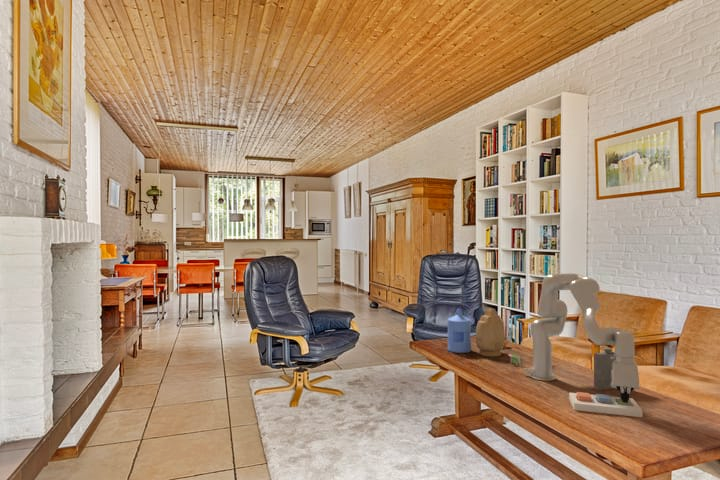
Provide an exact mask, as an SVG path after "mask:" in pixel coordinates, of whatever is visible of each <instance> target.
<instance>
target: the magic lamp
mask: <svg viewBox="0 0 720 480" xmlns="http://www.w3.org/2000/svg"><path fill="white" fill-rule="evenodd" d="M511 331H512V330H509V331H508V335H507V337H505V342H504V347H503V349H507V348H508V347H507V346H506V345H508V344H509V343H510V342H509V341H510V340H509V339H507V338H512V334H511ZM509 336H510V337H509Z"/></svg>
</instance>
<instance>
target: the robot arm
mask: <svg viewBox="0 0 720 480" xmlns="http://www.w3.org/2000/svg"><path fill="white" fill-rule="evenodd" d="M600 290H601V287H600V284H599V283H598V282H597V281H596V280H595V279H594V278H592V277H588V276H584V275H581V274H578V273H572V272H571V273H555V274H554V273H552V274H547V275H545V277H543V279H542V282H541V293H540V296H539V297H540V298H539V301H538V306H537V315H538V316H539V317H541V318H539V319H535V320H533V321H532V322H531V324H530V332H531V335H532V336H531V337H532V367H530V368H528V367H524V368H523V372H525V373H526V374H529V377H530V378H532V379H534V380H538V381H542V382H544V381H546V382H548V381H549V382H550V381H554V380H556V376H555V375H554V374H553V344H552V342H551V340H550V338H549V337H554V336H560V335H561V334H562V332H564V328H565V326H566V325H565V324H566V320H567V316H568V306H567V304H566V303H565V301H563V300H562V299H559V292H558V291H570V293H571V294H572V296H573V298H574V299H575V301H576V303H577V304H578V306H579V308H580V309H581V311H582V327H583V328H584V331H585V334H586V335H587V337H588V338H589V340H590V341H591V342H592V343H593V344H595V345H596V346H601V347H602V346H611V345H614V352H615V354H614V356H611V359H613V360H615V361H613V364H612V370H611V387H614V388H617V389H616V390H619V394H620V395H619V397H620V398H621V400H622V401H623V402H626V403H628V400H629V398H630V394H631V392H633V391H635V390H636V391H637V390H639V389H640V376H639V375H640V374H639V368H638V364H637V363H636V362H635V360H636V359H635V358H636V357H635V351H636V350H635V335H634V334H635V333H634V332H632V331H628V330H622V329H619V328H616V327H611V326H610V327H602V328H601V327H600V326H599V324H598V322H597V321H596V316H595V315H596V313H597V312H598V311H599V310H600V309H601V308H602V304H601V302H600V301H599V299H598V298H597V297H596V295H598V294H599V293H600ZM623 387H624V389H625V390H624V389H623Z"/></svg>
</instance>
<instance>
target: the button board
mask: <svg viewBox="0 0 720 480" xmlns="http://www.w3.org/2000/svg"><path fill="white" fill-rule="evenodd" d="M589 394H590V393H589ZM568 395H569V396H568V398H569V402H570V404H571V406H572V407H573V411H581V412H588V413H589V412H590V413H597V414H606V415H617V416H627V417H635V418H644V417H643V416H644V415H643V409H642V408H641V406H639V404H638V403H637V402H636V401H635V400H634V398H632V397H629V400H630V401H631V402H632V404H633V406H627V405H618V403H617V402H616V399H621V398H620V396H610V395H609V396H610V397H611V399H612V404H607V403H598V402H597V400H596V394H592V393H591V394H590V395H591V402H587V401H578V400H577V392H569V393H568Z"/></svg>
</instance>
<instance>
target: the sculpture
mask: <svg viewBox="0 0 720 480" xmlns="http://www.w3.org/2000/svg"><path fill="white" fill-rule="evenodd" d="M496 311H497V310H496V308H490V307H486V308H485V310H484V314H482V315H481V316H480V317H479V320H478V321H477V323H476V330H475V341H476V343H475V344H476V346H477V348H478V349H479V351H478V354H479V355H480V356H481V355H482V356H484V357H499V356H501V355H502V353H501V351H502V350H503V349H504V348H503V347H504V342H505V338H506V336H505V335H506V333H505V323H504V320H503V319H502V318H501V316H500V315H499V314H497V312H496Z"/></svg>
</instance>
